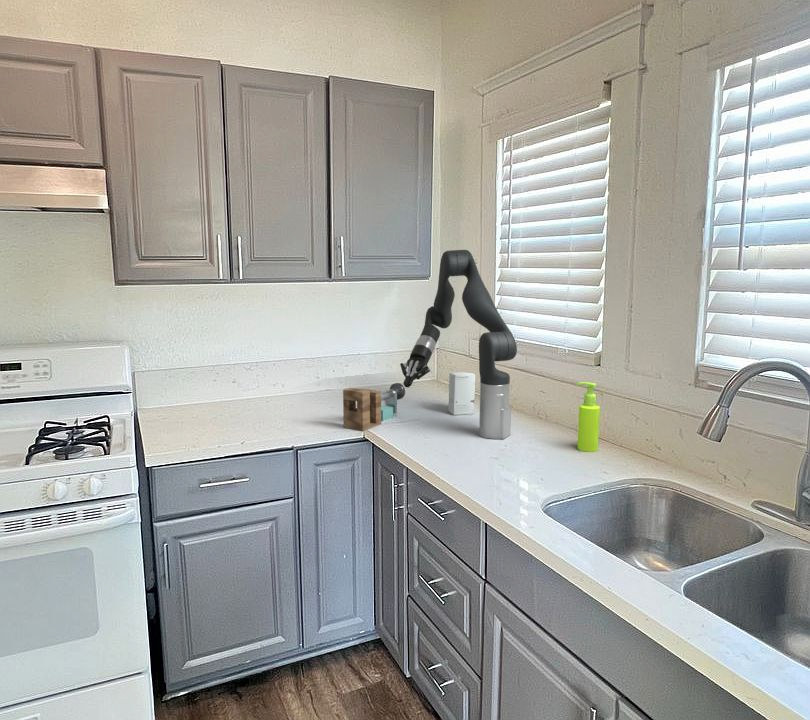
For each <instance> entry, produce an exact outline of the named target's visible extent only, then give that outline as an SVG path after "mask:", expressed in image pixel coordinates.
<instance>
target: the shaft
mask: <svg viewBox="0 0 810 720" xmlns="http://www.w3.org/2000/svg"><path fill="white" fill-rule="evenodd" d="M405 395H406V390H405V386H404V384H402V383H400V382H395V383H392V384H391V385H390V387H389V388H388V389H385V390H383V391H381V402H383V401H384V406H389V407H393V415H396V414H398V401H399V400H401V399H403V398H404V397H405ZM370 405H371V397H370Z"/></svg>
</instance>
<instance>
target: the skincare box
mask: <svg viewBox="0 0 810 720" xmlns="http://www.w3.org/2000/svg"><path fill="white" fill-rule="evenodd" d="M448 375H449V376H448V377H449V379H448V381H449V382H448V383H449V384H448V409H447V410H448V412H449V413H450V414H451V415H452V416H462V415H473V414H475V395H476V394H475V393H476V392H475V389H476V388H475V387H476V374H475V373H472V372H469V371H468V372H467V371H465V372H464V371H463V372H462V371H461V372H459V371H458V372H457V371H456V372H449V373H448Z"/></svg>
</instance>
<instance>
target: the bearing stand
mask: <svg viewBox="0 0 810 720" xmlns="http://www.w3.org/2000/svg"><path fill="white" fill-rule="evenodd" d="M381 392H382V391H381V390H374V389H368V388H356V387H348V388H344V389H343V390H342V394H343V395H342V403H343V428H345V429H350V430H354V431H359V432H360V431H361V432H365V431H367V430H371V429H372V428H375V427H377V426H381V425H382V421H381V405H382V401H381ZM370 397H371V405H370Z"/></svg>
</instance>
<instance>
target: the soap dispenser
mask: <svg viewBox="0 0 810 720" xmlns="http://www.w3.org/2000/svg"><path fill="white" fill-rule="evenodd" d="M576 385H577V386H587V389H586V390H587V392H586V393H584V394H583V395H584V396H583V404H579V406H578V423H577V424H578V425H577V427H578V428H577V446H576V448H577V450H578V451H579V452H580V451H581V452H586V453H594V452H595V453H596V452H597V451H598V450H599V438H600V437H599V436H600V419H601V418H600V417H601V416H600V415H601V406H600V405H598V404H597V394H595V393H594V388H595V387H597V385H598V384H597V383H594V382H589V381H582V382H577V383H576Z"/></svg>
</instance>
